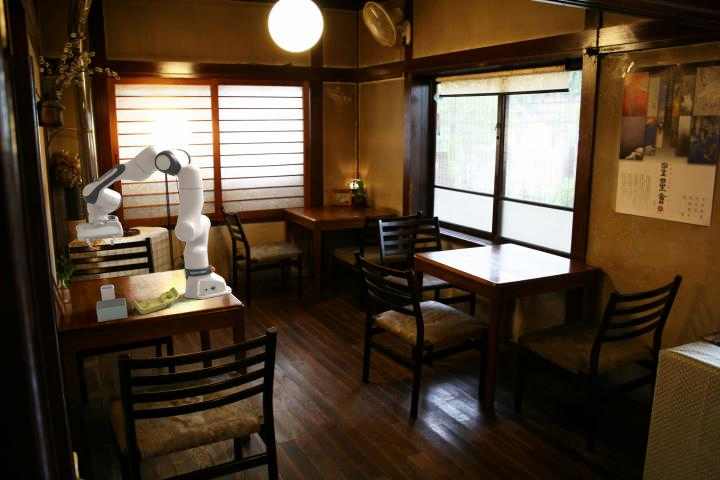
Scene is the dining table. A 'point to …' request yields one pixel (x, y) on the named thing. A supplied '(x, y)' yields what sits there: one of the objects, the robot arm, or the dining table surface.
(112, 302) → the stand
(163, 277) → the dining table surface
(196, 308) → the dining table surface
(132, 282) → the dining table surface
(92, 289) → the dining table surface
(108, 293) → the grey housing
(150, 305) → the plastic component
